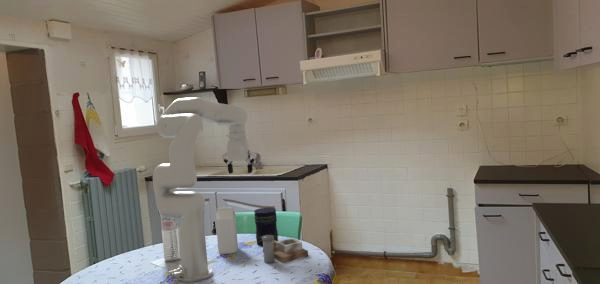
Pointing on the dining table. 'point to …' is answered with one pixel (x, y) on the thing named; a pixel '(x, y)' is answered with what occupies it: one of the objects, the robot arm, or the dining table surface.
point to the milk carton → (226, 230)
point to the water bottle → (170, 238)
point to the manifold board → (288, 250)
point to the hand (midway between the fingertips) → (240, 172)
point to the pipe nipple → (268, 248)
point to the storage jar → (265, 224)
